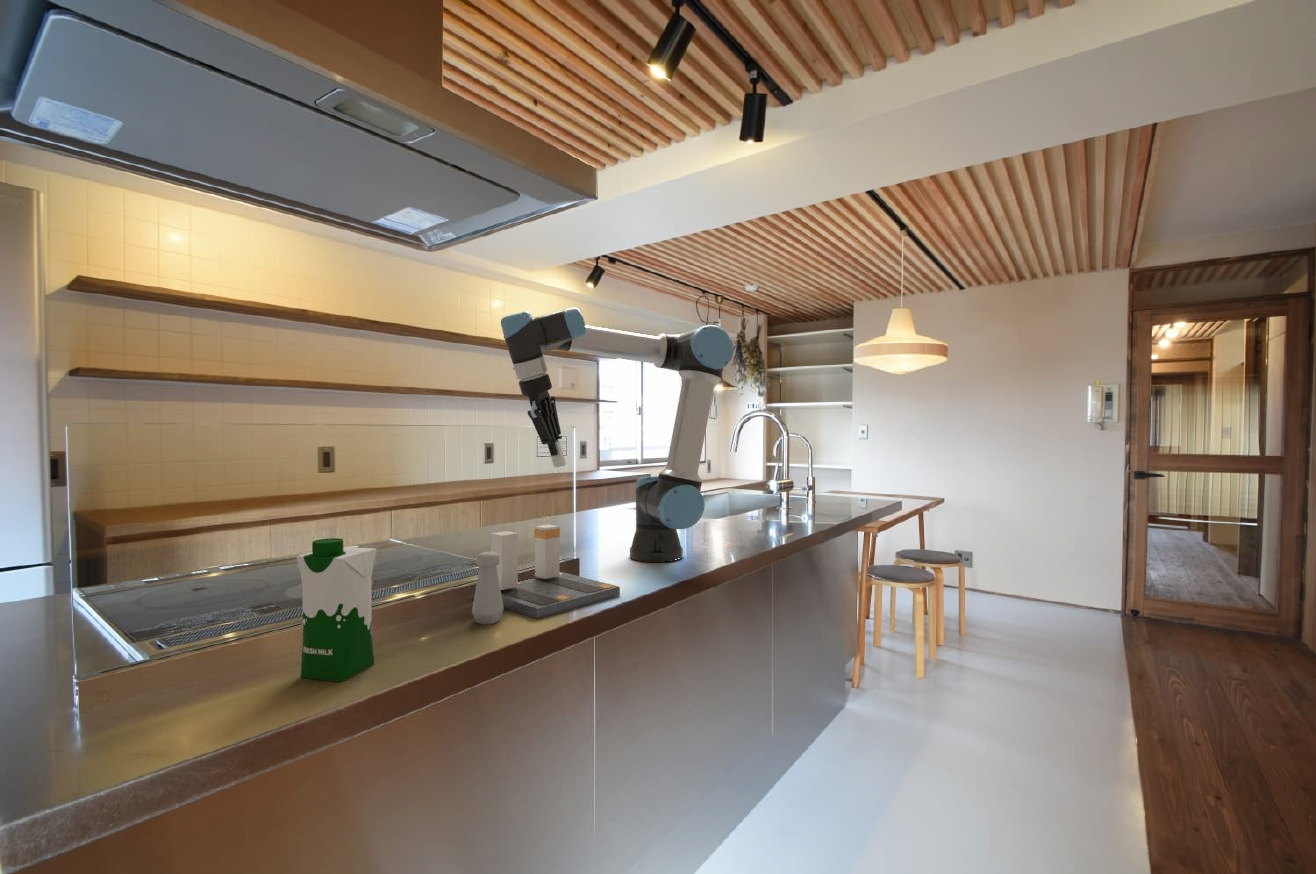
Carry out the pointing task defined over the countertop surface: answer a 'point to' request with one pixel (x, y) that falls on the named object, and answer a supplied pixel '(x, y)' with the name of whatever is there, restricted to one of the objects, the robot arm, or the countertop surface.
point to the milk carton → (336, 610)
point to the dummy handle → (506, 558)
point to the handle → (547, 551)
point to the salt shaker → (487, 590)
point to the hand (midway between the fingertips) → (560, 465)
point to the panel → (555, 594)
